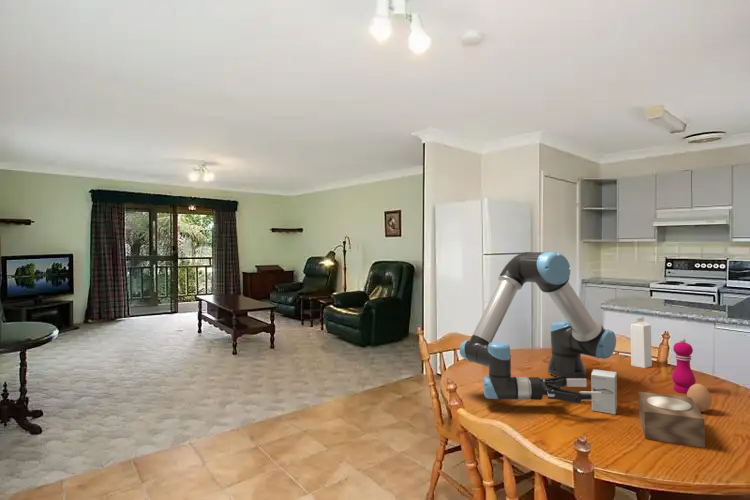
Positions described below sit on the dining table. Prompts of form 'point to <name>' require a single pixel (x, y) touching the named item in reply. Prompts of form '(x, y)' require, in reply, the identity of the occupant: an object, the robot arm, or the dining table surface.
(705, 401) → the egg
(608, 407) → the supplement box
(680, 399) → the walnut riser
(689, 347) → the pepper mill
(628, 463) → the dining table surface
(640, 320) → the milk
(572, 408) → the dining table surface
